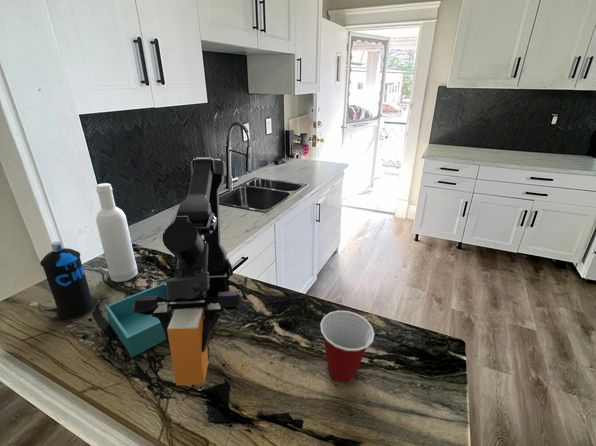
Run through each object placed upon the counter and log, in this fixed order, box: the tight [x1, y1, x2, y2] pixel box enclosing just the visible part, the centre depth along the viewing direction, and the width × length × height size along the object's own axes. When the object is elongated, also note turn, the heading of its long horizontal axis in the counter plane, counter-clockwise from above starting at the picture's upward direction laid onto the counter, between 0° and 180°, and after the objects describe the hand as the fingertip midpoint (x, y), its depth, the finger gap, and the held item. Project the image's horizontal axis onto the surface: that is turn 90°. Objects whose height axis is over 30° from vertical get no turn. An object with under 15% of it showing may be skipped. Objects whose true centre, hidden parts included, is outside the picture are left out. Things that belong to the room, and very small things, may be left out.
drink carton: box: [167, 308, 209, 386], centre depth 57 cm, size 5×5×13 cm
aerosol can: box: [39, 241, 96, 320], centre depth 81 cm, size 8×8×20 cm
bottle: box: [95, 182, 139, 283], centre depth 95 cm, size 8×8×30 cm
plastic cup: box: [319, 310, 375, 383], centre depth 65 cm, size 11×11×12 cm
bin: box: [104, 282, 193, 358], centre depth 79 cm, size 15×15×6 cm
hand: (187, 353), depth 56 cm, fingers closed on drink carton, 5 cm apart
